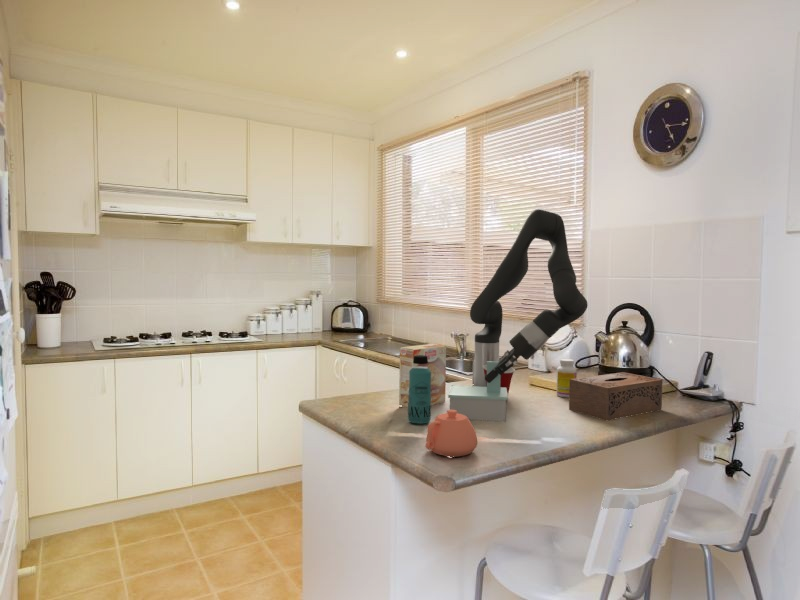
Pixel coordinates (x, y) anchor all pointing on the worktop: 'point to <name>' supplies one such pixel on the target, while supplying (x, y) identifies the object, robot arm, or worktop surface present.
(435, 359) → the coffeecake box
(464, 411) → the tub
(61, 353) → the worktop surface
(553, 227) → the robot arm
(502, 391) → the lid
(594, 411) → the tissue box cover
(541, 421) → the worktop surface
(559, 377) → the supplement bottle
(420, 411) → the beverage bottle
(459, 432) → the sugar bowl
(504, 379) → the plastic cup
